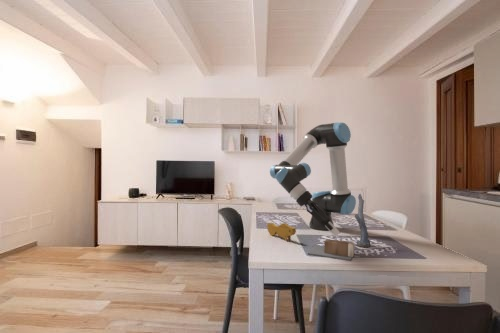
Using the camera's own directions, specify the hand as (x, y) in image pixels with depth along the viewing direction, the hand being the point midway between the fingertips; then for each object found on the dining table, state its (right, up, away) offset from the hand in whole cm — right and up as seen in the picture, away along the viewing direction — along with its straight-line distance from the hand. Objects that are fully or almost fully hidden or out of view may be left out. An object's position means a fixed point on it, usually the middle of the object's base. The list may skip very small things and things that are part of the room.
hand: (337, 234), depth 124 cm
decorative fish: (-23, -9, +27) cm, 36 cm away
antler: (+17, -9, +16) cm, 25 cm away
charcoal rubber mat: (-2, -9, +2) cm, 9 cm away
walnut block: (-5, -6, +2) cm, 8 cm away
